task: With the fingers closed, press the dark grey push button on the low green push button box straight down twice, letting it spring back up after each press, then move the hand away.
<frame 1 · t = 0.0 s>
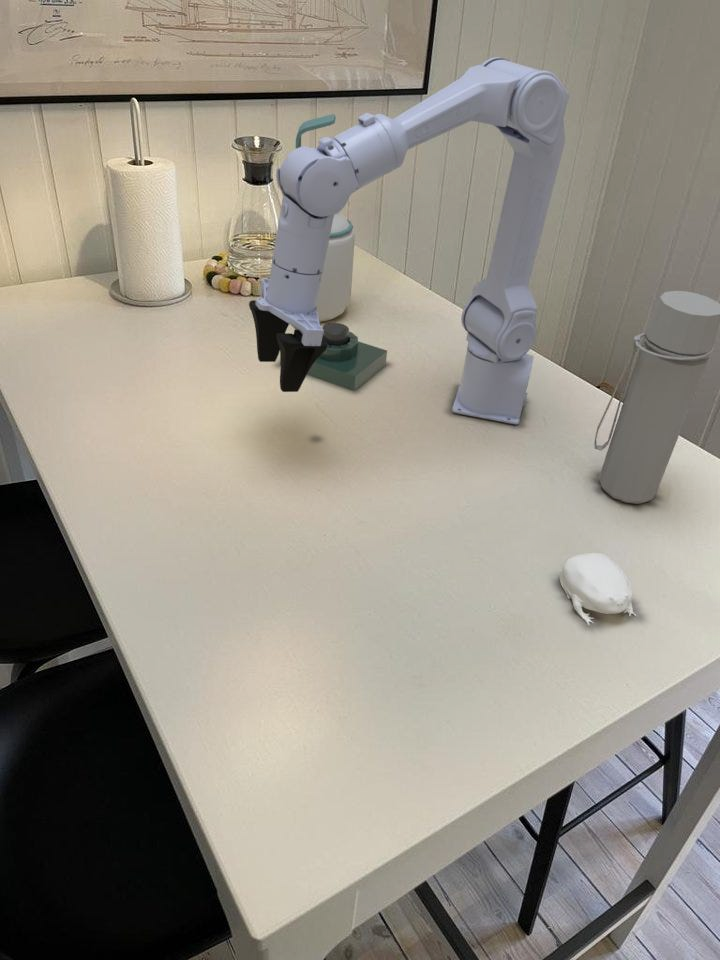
hand: (277, 375, 91), 11 cm above the table, tool pointing down, fingers open, 7 cm apart
green push button box: (333, 365, 115), on the table
dark grey push button: (335, 334, 112), point 5 cm above the table, slide at 0.1 cm
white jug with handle: (314, 312, 131), on the table
chubby white toad: (593, 597, 79), on the table
water bottle: (618, 488, 95), on the table
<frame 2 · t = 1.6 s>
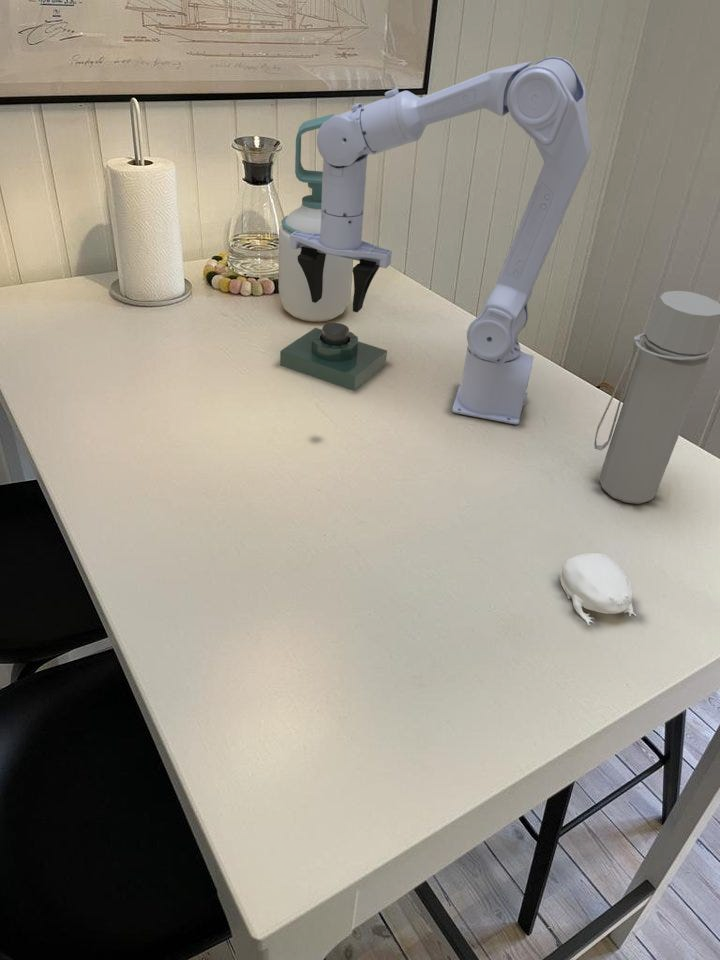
hand: (337, 304, 110), 10 cm above the table, tool pointing down, fingers open, 6 cm apart
nothing on the table moved.
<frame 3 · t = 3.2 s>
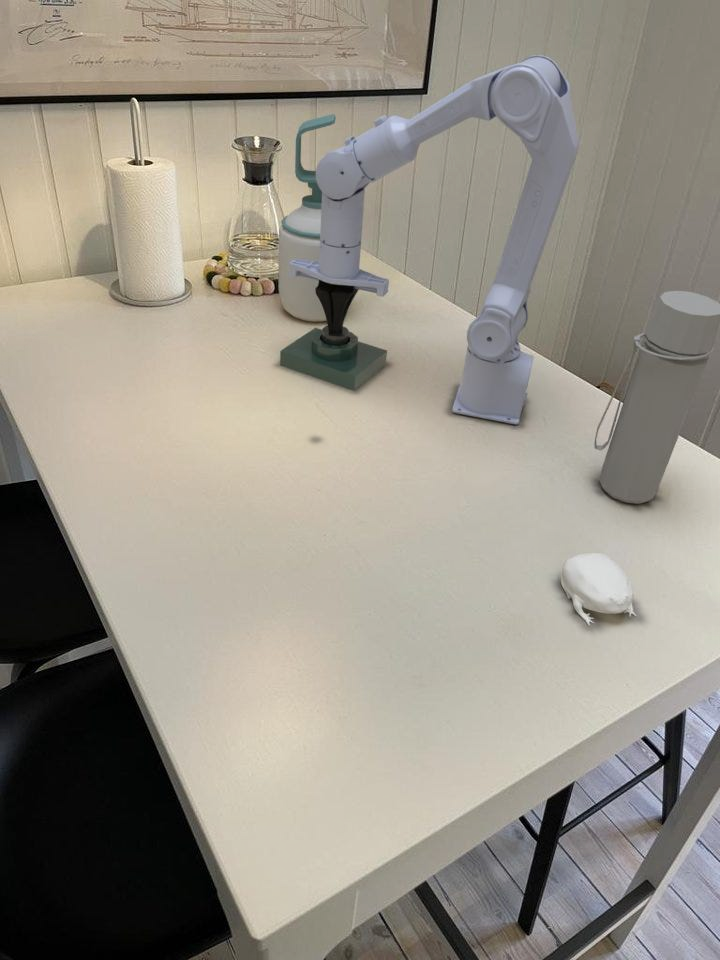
hand: (335, 330, 112), 6 cm above the table, tool pointing down, fingers closed, pressing on dark grey push button
dark grey push button: (335, 336, 113), point 5 cm above the table, slide at -0.2 cm, touching gripper
everything else where it was.
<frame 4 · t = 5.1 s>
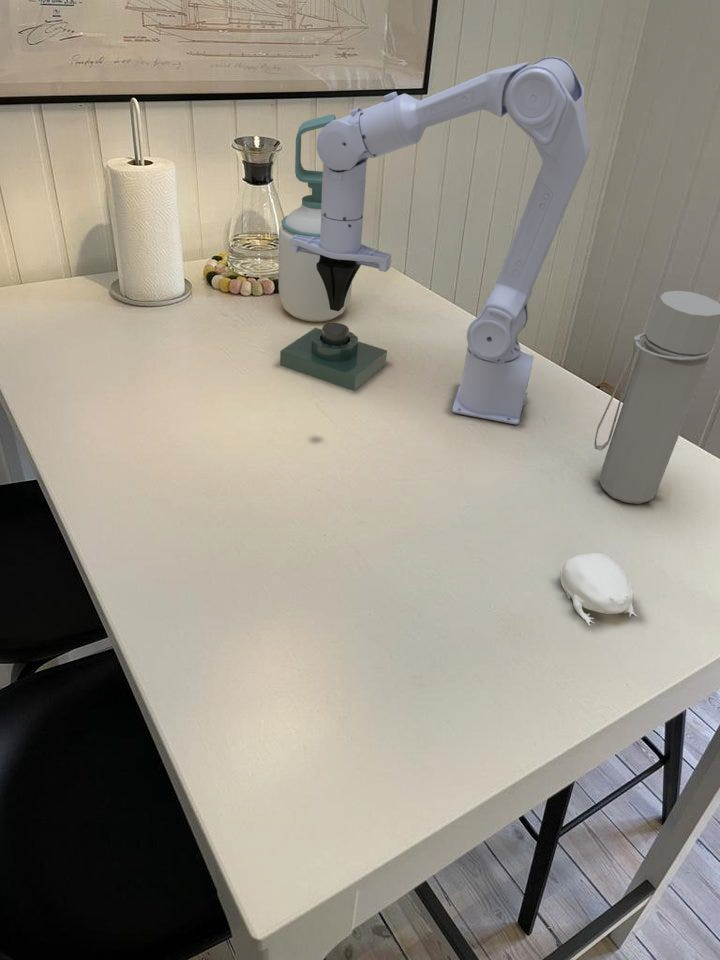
hand: (336, 308, 110), 9 cm above the table, tool pointing down, fingers closed
dark grey push button: (335, 334, 112), point 5 cm above the table, slide at 0.1 cm
everything else where it was.
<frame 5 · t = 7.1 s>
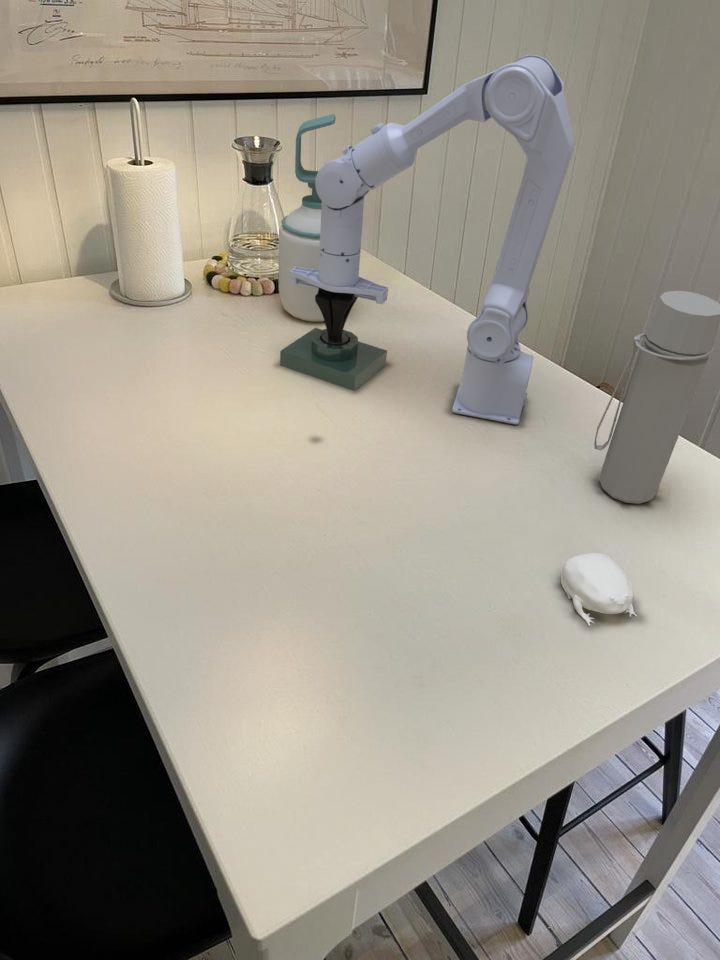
hand: (334, 337, 113), 5 cm above the table, tool pointing down, fingers closed, pressing on dark grey push button
dark grey push button: (334, 343, 113), point 4 cm above the table, slide at -1.4 cm, touching gripper
everything else where it was.
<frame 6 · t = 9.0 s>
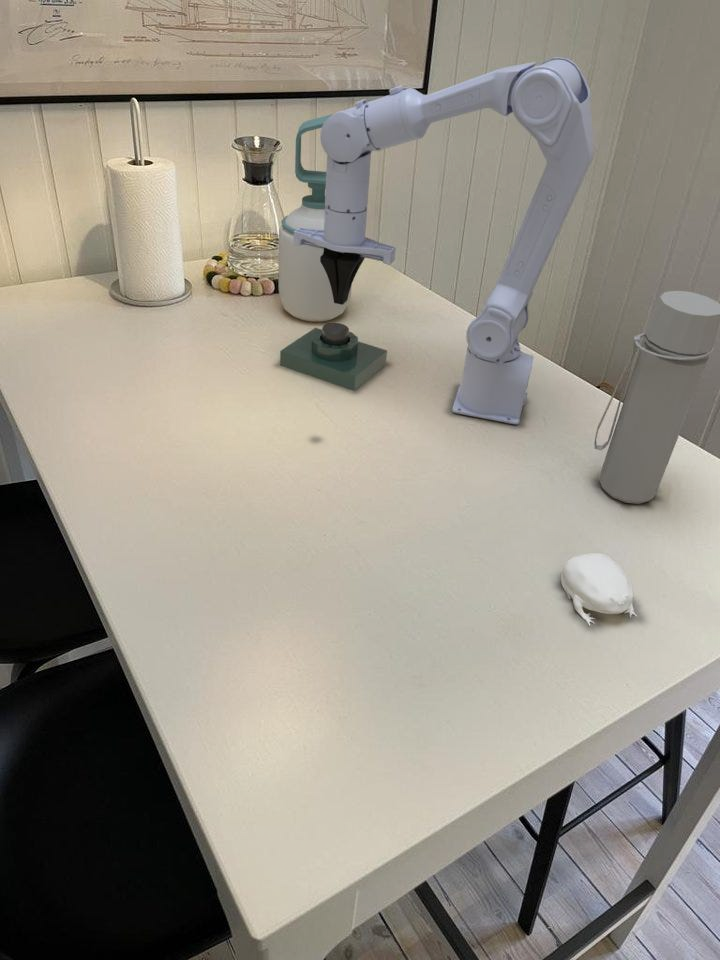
hand: (340, 301, 109), 10 cm above the table, tool pointing down, fingers closed
dark grey push button: (335, 334, 112), point 5 cm above the table, slide at 0.1 cm
everything else where it was.
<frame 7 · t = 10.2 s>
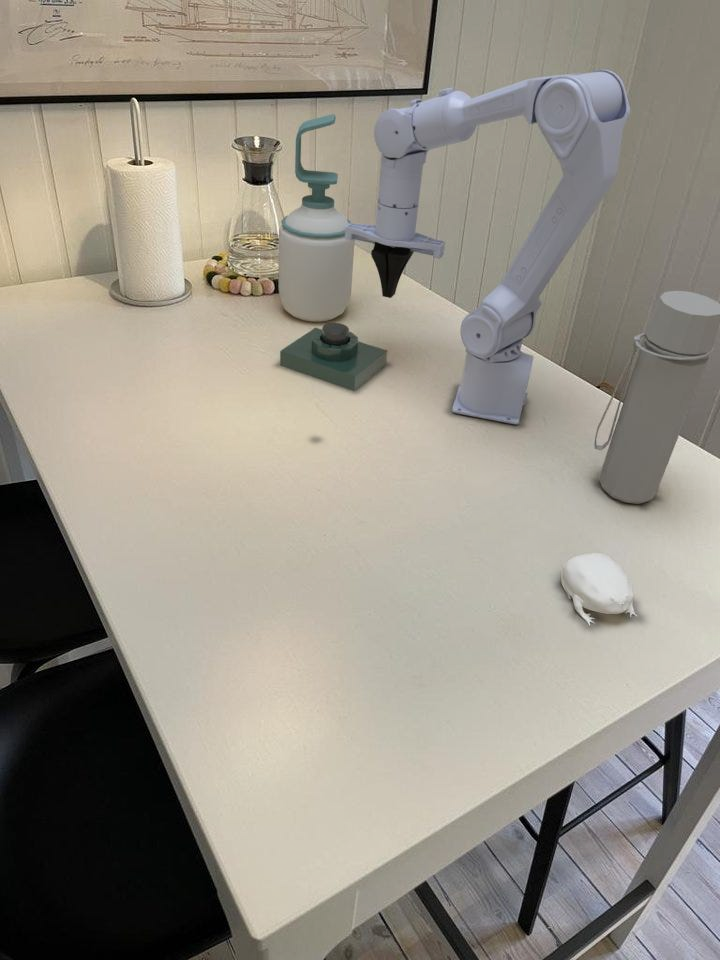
hand: (388, 294, 113), 10 cm above the table, tool pointing down, fingers closed
nothing on the table moved.
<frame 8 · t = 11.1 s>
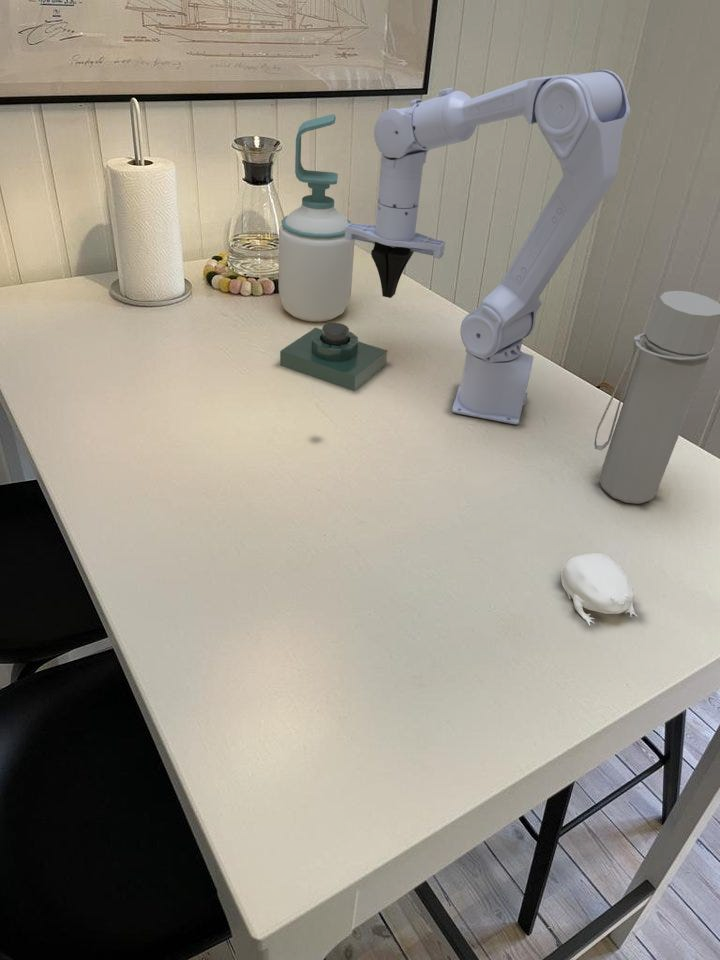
hand: (388, 294, 113), 10 cm above the table, tool pointing down, fingers closed
nothing on the table moved.
at the end: dark grey push button pushed in 1.4 cm at the most during the clip, back to where it started at the end; dark grey push button slide at 0.1 cm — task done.
